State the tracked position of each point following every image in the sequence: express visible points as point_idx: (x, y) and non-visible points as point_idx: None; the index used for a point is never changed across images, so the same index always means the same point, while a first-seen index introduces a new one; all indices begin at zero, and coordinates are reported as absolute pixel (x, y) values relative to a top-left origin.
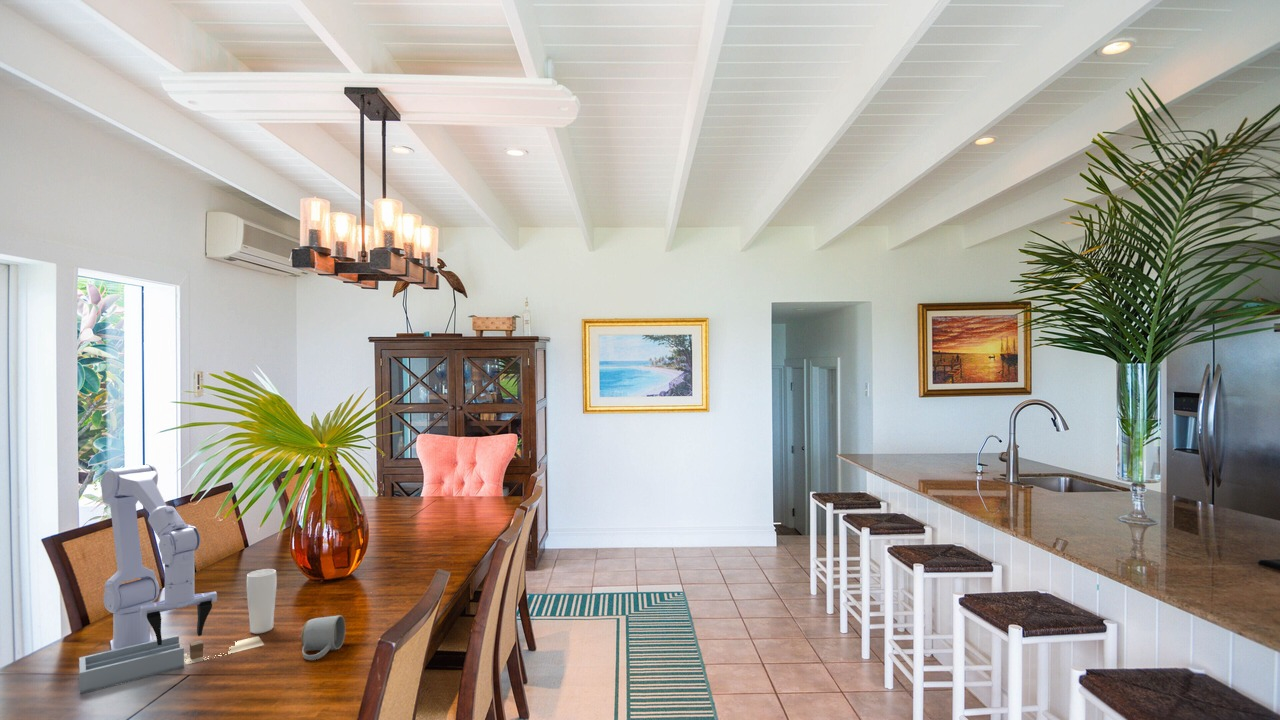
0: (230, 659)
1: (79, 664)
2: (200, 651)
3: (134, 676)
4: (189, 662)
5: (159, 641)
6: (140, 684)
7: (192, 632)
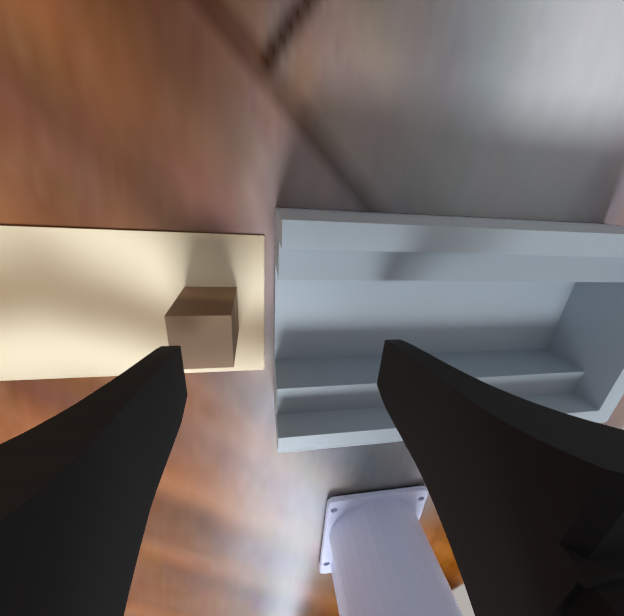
0: (33, 126)
1: None
2: (191, 297)
3: (466, 218)
4: (246, 256)
5: (408, 347)
6: (456, 140)
7: (213, 533)
